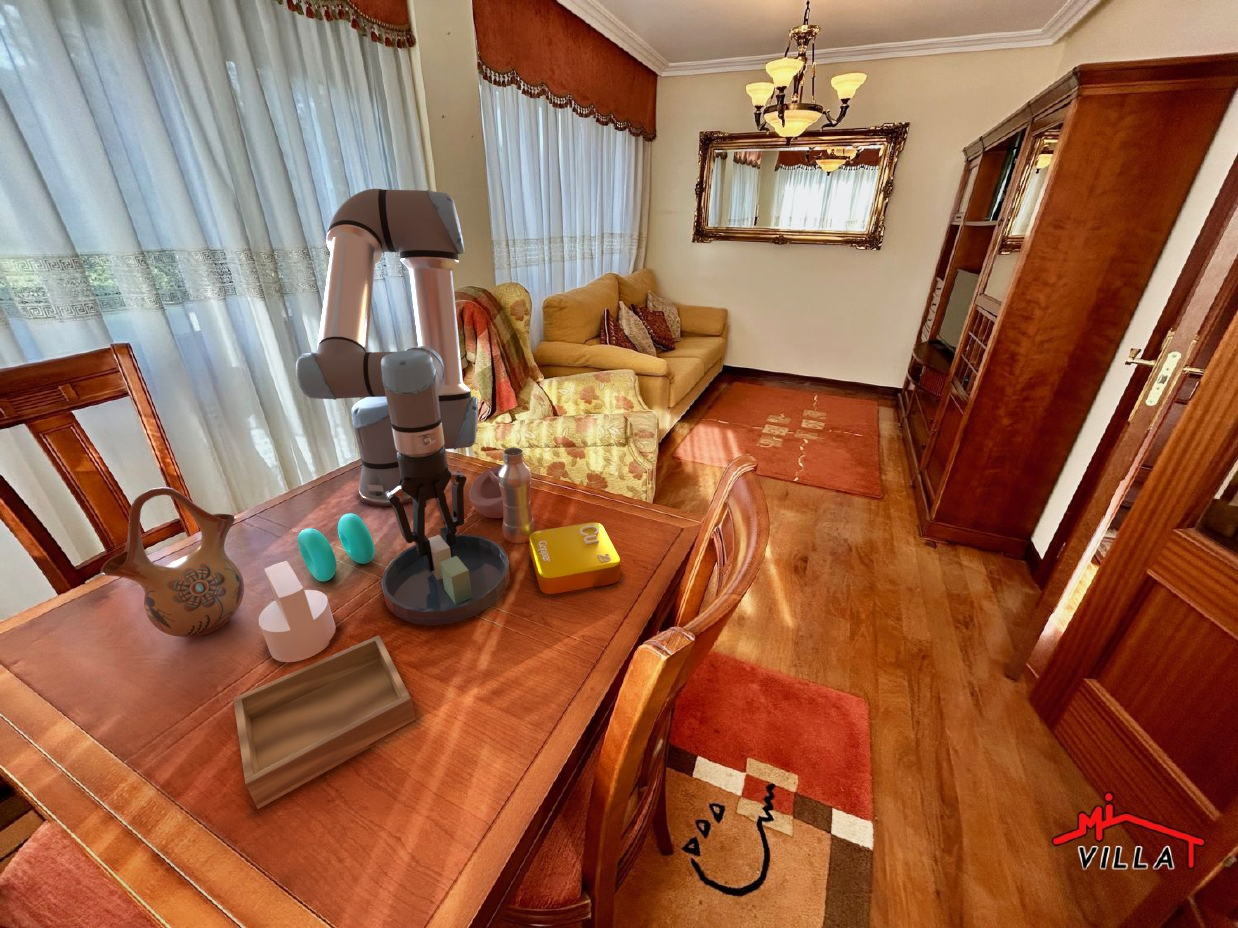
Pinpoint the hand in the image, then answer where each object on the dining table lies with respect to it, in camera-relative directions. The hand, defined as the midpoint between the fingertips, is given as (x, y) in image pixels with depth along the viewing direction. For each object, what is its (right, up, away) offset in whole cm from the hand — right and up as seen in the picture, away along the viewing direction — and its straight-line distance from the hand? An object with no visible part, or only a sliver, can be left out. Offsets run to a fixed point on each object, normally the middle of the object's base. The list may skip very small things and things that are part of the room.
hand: (439, 563), depth 92 cm
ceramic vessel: (-32, -8, -12) cm, 35 cm away
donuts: (-19, -1, +1) cm, 19 cm away
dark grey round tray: (+2, -3, -2) cm, 5 cm away
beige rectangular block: (0, -1, +1) cm, 2 cm away
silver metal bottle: (+12, +3, +11) cm, 17 cm away
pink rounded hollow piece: (+6, +7, +20) cm, 22 cm away
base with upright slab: (-16, -9, -14) cm, 23 cm away
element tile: (+24, -1, +4) cm, 25 cm away
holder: (-5, -16, -27) cm, 31 cm away
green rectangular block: (+5, -4, -5) cm, 8 cm away
